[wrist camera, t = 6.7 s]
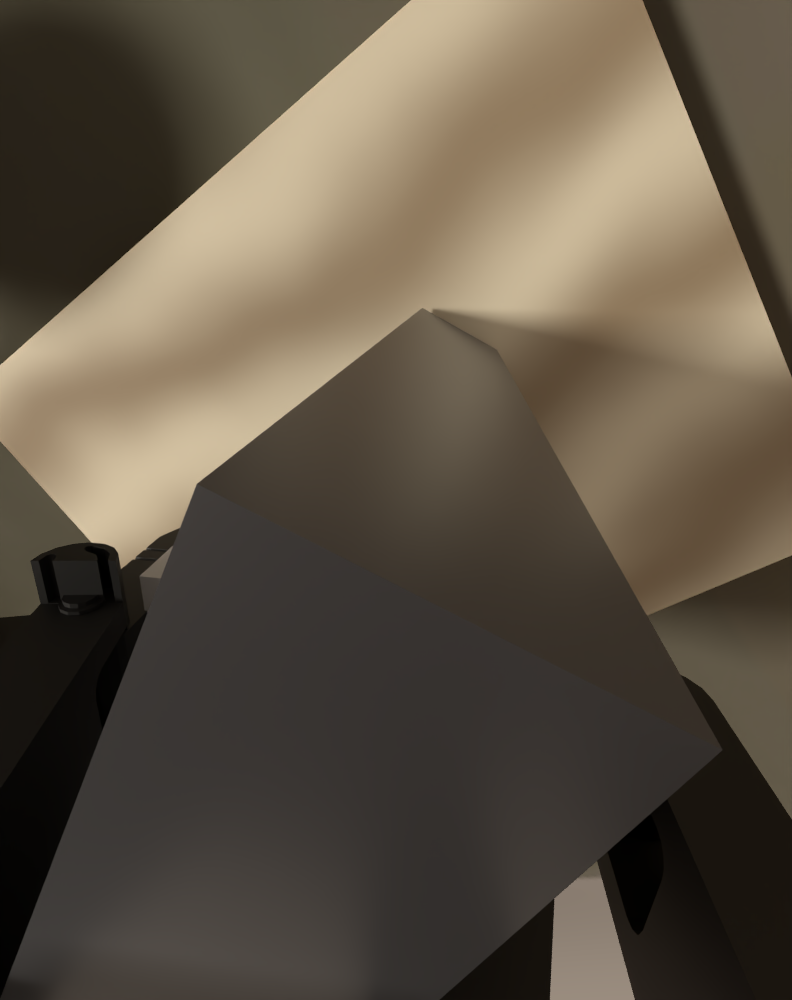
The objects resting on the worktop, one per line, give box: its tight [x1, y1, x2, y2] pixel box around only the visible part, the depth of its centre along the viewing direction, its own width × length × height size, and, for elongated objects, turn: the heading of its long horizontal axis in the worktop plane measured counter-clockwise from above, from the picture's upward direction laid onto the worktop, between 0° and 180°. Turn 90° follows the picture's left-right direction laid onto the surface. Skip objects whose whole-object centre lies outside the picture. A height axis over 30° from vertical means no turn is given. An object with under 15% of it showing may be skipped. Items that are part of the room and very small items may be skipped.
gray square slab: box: [0, 308, 722, 1000], centre depth 12 cm, size 3×14×15 cm, turn 152°
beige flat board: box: [0, 0, 792, 615], centre depth 19 cm, size 20×24×2 cm
